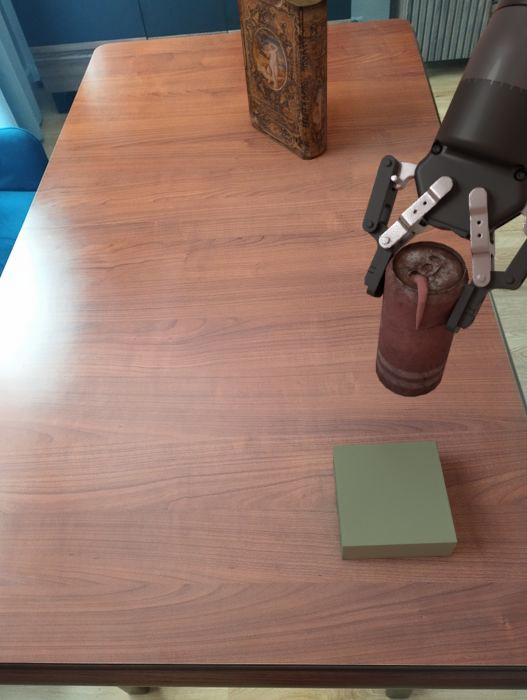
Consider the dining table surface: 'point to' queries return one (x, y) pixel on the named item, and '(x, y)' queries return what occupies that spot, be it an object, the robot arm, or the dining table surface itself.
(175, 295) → the dining table surface
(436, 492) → the plate
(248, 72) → the book
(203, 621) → the dining table surface
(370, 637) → the dining table surface
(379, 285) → the robot arm
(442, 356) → the can
